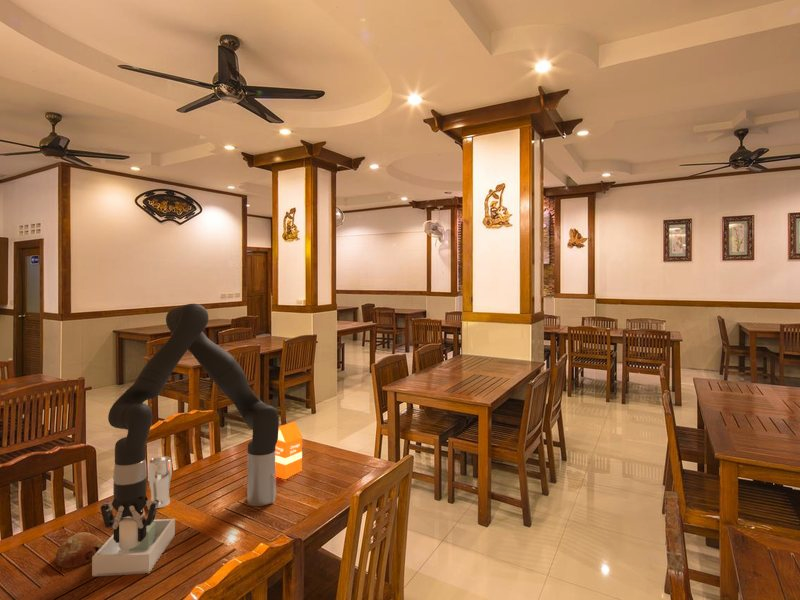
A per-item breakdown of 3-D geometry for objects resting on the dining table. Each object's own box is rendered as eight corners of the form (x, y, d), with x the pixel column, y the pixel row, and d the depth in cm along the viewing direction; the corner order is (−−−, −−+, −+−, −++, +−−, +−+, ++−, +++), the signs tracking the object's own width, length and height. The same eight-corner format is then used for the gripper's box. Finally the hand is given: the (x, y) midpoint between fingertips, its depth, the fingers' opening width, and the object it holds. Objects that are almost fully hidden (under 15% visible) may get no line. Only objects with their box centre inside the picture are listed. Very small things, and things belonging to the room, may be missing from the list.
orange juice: (302, 472, 179) (302, 422, 179) (285, 480, 172) (285, 428, 171) (288, 468, 183) (288, 419, 183) (271, 475, 176) (271, 424, 175)
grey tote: (174, 535, 133) (174, 518, 133) (149, 573, 116) (149, 554, 116) (125, 537, 132) (125, 520, 132) (92, 576, 114) (92, 557, 114)
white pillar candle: (144, 538, 123) (144, 512, 123) (135, 548, 118) (135, 522, 118) (124, 539, 122) (124, 513, 122) (115, 549, 117) (115, 523, 117)
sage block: (155, 539, 130) (155, 522, 130) (148, 549, 125) (148, 531, 125) (137, 540, 130) (137, 523, 129) (128, 550, 125) (128, 532, 124)
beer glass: (161, 510, 148) (161, 465, 147) (143, 507, 149) (143, 462, 149) (176, 500, 155) (176, 457, 154) (158, 498, 156) (158, 455, 156)
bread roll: (79, 559, 127) (66, 534, 127) (114, 543, 128) (101, 518, 127) (55, 582, 117) (41, 555, 117) (93, 564, 118) (79, 537, 117)
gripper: (164, 470, 124) (164, 531, 125) (108, 472, 123) (108, 534, 123) (152, 482, 117) (152, 547, 117) (93, 484, 115) (93, 550, 116)
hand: (130, 540), depth 120 cm, fingers closed on white pillar candle, 5 cm apart
